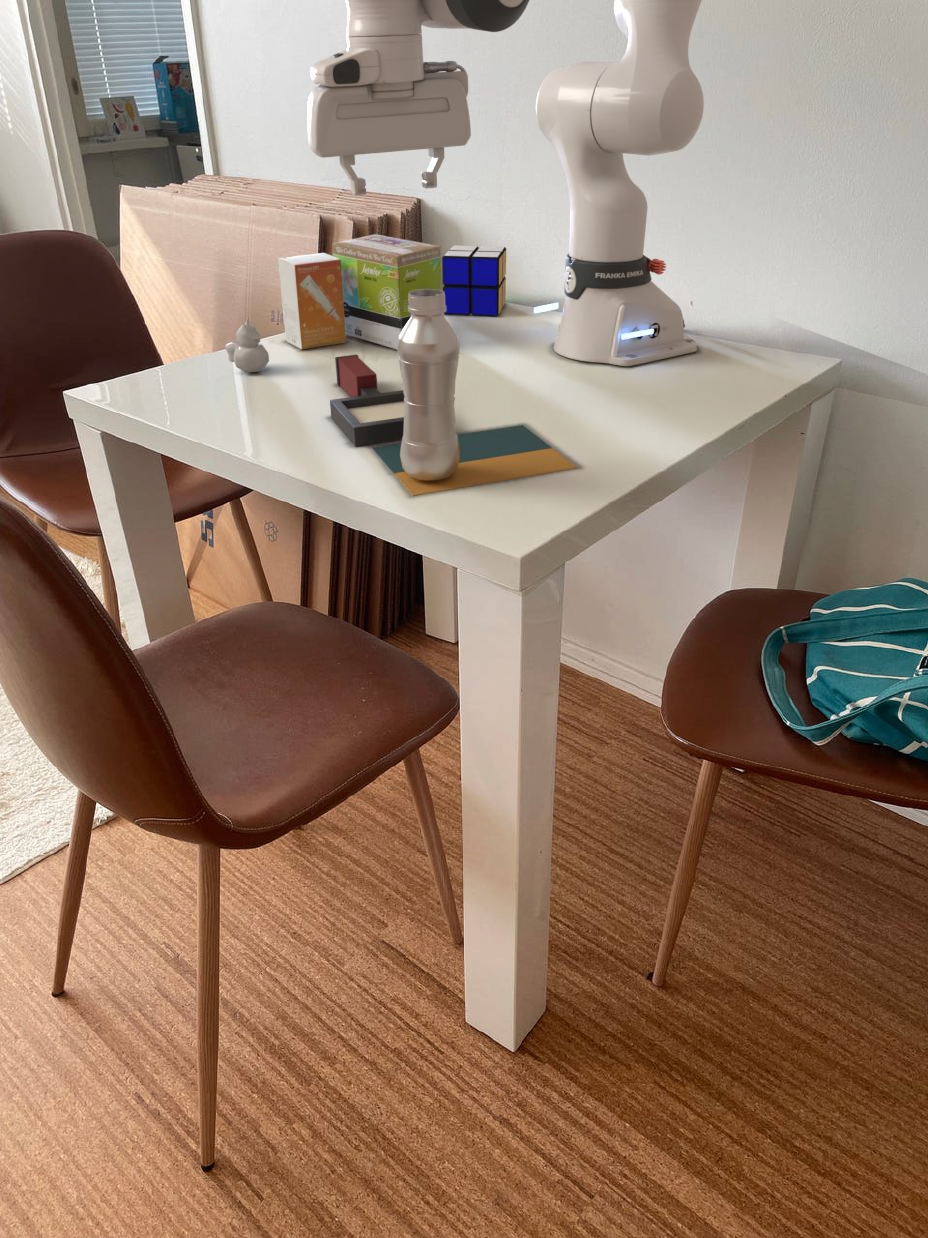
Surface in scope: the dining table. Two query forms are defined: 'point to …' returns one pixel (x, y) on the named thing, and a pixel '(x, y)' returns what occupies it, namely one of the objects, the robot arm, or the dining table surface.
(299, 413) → the dining table surface
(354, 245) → the tea box
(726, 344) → the dining table surface
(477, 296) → the puzzle cube
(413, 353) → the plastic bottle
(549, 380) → the dining table surface
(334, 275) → the small box
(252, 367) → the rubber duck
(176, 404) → the dining table surface
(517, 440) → the mat
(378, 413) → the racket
